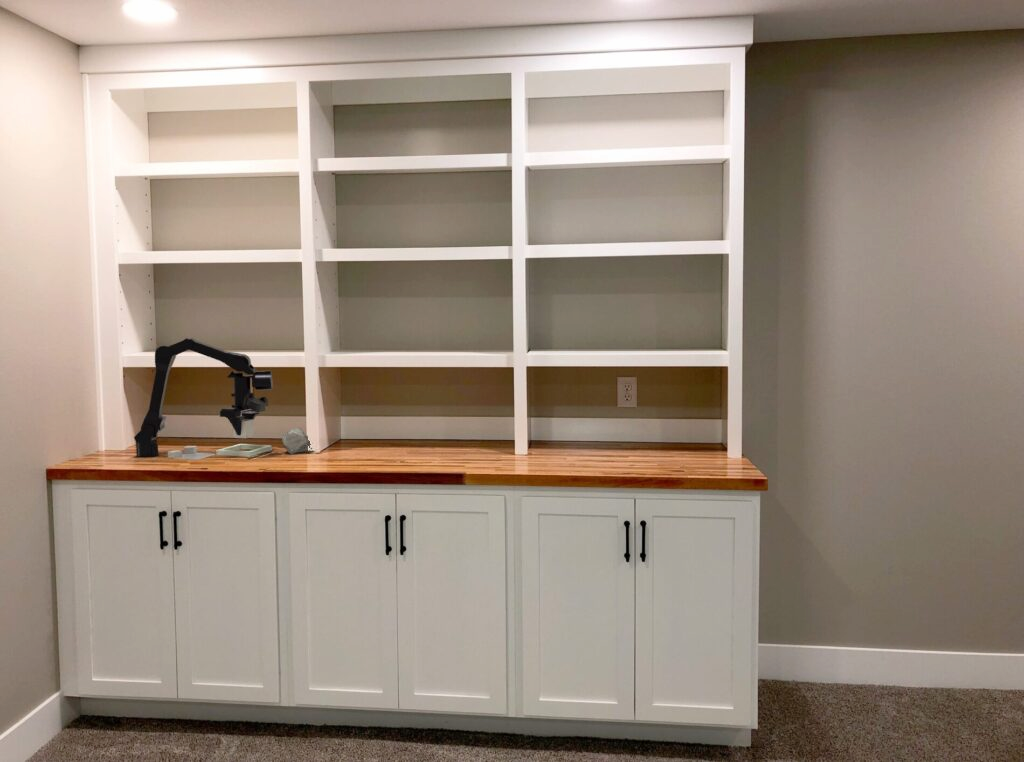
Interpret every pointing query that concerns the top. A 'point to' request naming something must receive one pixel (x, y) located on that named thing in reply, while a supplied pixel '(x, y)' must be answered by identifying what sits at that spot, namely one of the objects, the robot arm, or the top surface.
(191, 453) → the slate board
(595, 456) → the top surface
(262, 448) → the bin
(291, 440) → the stone
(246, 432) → the large white cube
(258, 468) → the top surface
